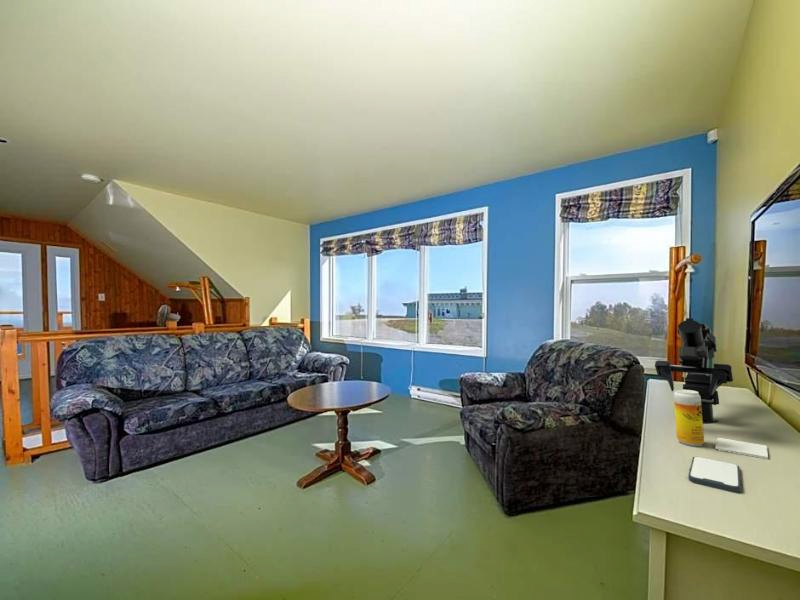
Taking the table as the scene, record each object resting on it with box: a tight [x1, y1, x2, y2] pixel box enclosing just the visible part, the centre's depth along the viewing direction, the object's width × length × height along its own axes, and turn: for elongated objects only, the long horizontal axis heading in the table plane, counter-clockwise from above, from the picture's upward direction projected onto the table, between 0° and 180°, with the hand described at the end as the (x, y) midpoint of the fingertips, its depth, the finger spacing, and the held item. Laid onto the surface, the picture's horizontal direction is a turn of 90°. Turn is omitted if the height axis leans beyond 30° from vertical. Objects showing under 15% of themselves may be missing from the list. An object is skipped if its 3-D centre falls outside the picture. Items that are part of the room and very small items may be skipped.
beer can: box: [673, 389, 705, 447], centre depth 101 cm, size 6×6×15 cm
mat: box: [714, 437, 769, 460], centre depth 95 cm, size 10×10×1 cm
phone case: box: [687, 456, 742, 494], centre depth 82 cm, size 9×2×16 cm
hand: (690, 392), depth 107 cm, fingers open, 9 cm apart
